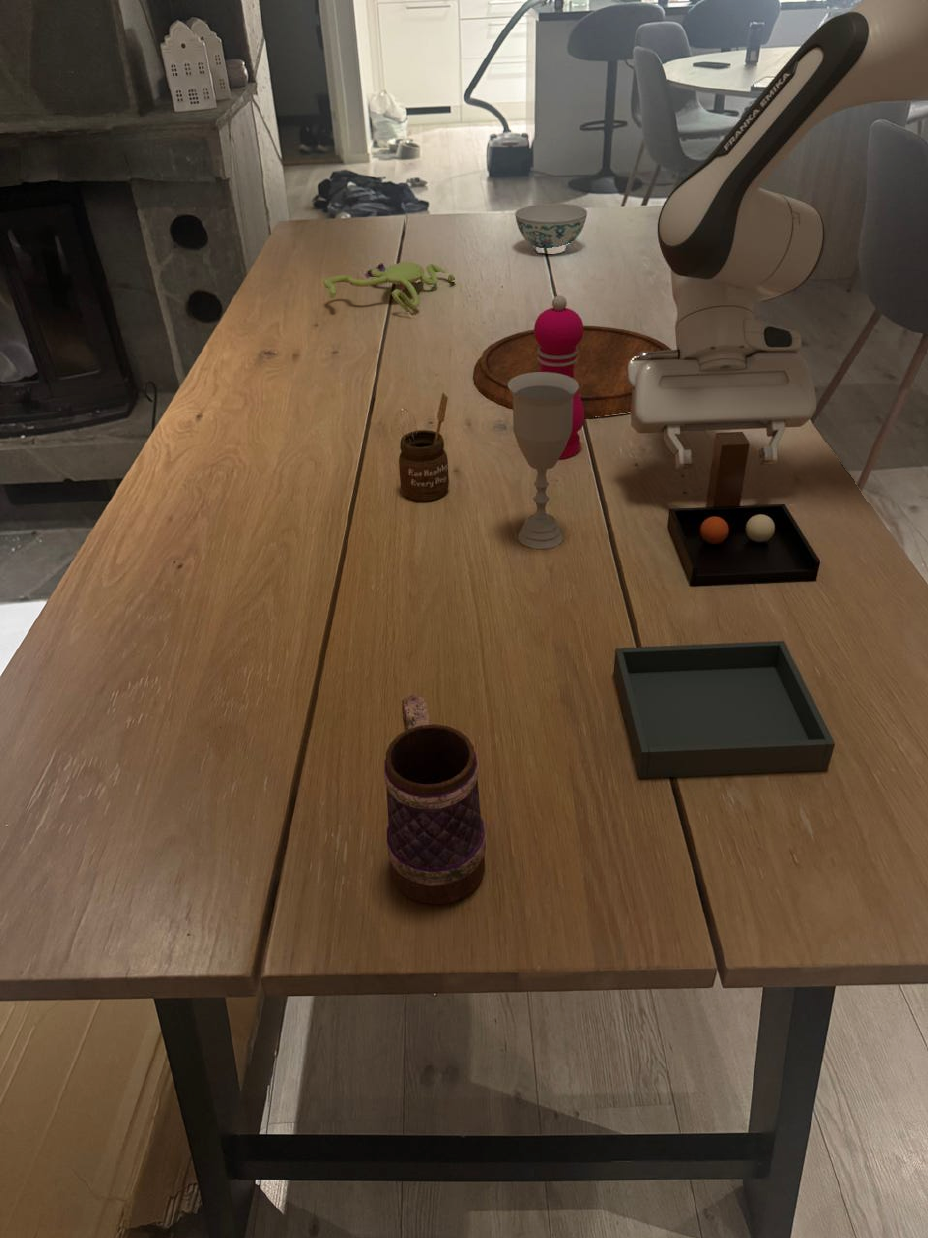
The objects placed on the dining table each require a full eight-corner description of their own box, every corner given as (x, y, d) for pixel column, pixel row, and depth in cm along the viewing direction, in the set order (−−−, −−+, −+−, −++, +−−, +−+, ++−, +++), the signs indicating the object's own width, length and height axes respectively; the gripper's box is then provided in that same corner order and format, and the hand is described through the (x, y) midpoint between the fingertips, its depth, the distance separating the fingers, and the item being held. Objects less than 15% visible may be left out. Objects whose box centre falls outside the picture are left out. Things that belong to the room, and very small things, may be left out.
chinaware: (550, 236, 207) (551, 199, 202) (600, 249, 198) (602, 210, 193) (500, 250, 200) (500, 212, 195) (549, 264, 190) (550, 224, 186)
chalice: (582, 530, 105) (590, 379, 95) (556, 559, 101) (561, 403, 90) (525, 515, 108) (526, 367, 98) (497, 543, 104) (495, 390, 93)
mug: (496, 898, 66) (493, 779, 58) (396, 917, 65) (381, 798, 57) (468, 793, 74) (462, 678, 67) (379, 808, 73) (364, 692, 66)
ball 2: (768, 537, 102) (770, 510, 101) (777, 545, 100) (779, 518, 98) (741, 538, 102) (743, 511, 101) (749, 546, 100) (751, 519, 98)
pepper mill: (554, 466, 118) (558, 309, 106) (516, 448, 123) (516, 295, 111) (594, 449, 122) (602, 295, 110) (556, 431, 126) (560, 282, 114)
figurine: (314, 314, 170) (310, 283, 167) (380, 272, 190) (377, 243, 186) (405, 323, 164) (402, 291, 161) (463, 279, 183) (462, 250, 180)
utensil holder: (394, 485, 116) (386, 394, 108) (442, 475, 117) (437, 385, 110) (409, 506, 111) (402, 413, 104) (458, 496, 113) (454, 403, 106)
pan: (773, 508, 108) (788, 429, 102) (816, 580, 96) (835, 495, 90) (661, 513, 108) (670, 434, 102) (690, 586, 96) (701, 501, 90)
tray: (778, 666, 85) (784, 640, 83) (827, 770, 74) (835, 743, 73) (613, 673, 85) (615, 648, 83) (638, 779, 74) (641, 752, 73)
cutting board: (446, 406, 134) (445, 390, 133) (504, 332, 159) (503, 317, 157) (669, 427, 126) (671, 410, 125) (694, 345, 150) (695, 330, 149)
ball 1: (723, 539, 102) (725, 512, 101) (731, 547, 100) (732, 520, 98) (696, 540, 102) (697, 513, 101) (703, 548, 100) (704, 521, 98)
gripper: (630, 340, 102) (638, 460, 100) (815, 332, 102) (827, 452, 100) (620, 364, 109) (628, 477, 106) (795, 356, 108) (806, 470, 106)
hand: (726, 465), depth 103 cm, fingers open, 8 cm apart
